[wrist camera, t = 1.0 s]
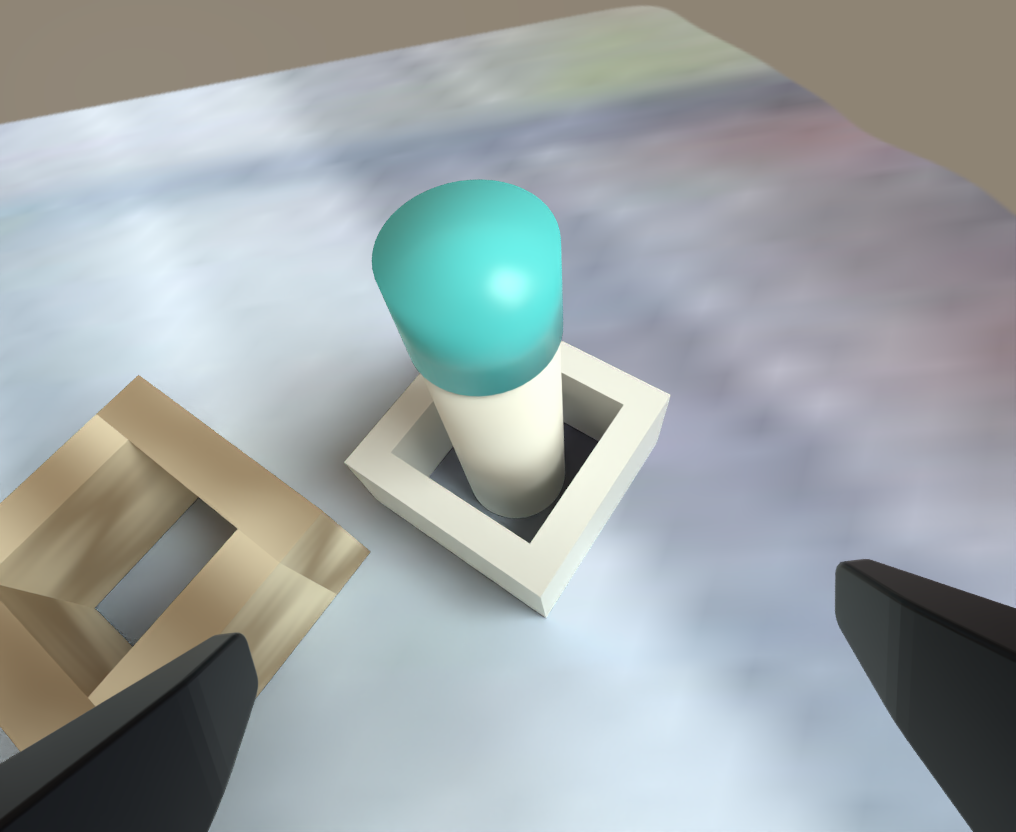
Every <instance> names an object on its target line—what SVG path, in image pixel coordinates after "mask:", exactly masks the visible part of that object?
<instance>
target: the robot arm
mask: <svg viewBox="0 0 1016 832" xmlns="http://www.w3.org/2000/svg"><path fill="white" fill-rule="evenodd" d="M835 615H836V619H837V623H838V625H839V627H840V629H841V631H842V633H843V635H844V636H845V638H846V640H847V642H848V643H849V645H850V647H851V648H852V650H853V652H854V654H855V655H856V657H857V659H858V661H859V662H860V664H861V666H862V667H863V669H864V671H865V673H866V674H867V676H868V678H869V679H870V681H871V683H872V685H873V686H874V688H875V690H876V692H877V693H878V695H879V697H880V698H881V700H882V702H883V704H884V705H885V707H886V709H887V710H888V712H889V714H890V715H891V717H892V718H893V720H894V722H895V723H896V725H897V726H898V728H899V729H900V731H901V732H902V733H903V735H904V736H905V738H906V739H907V741H908V742H909V743H910V745H911V746H912V748H913V749H914V750H915V752H916V753H917V755H918V756H919V757H920V759H921V760H922V762H923V763H924V764H925V766H926V767H927V769H928V770H929V771H930V773H931V774H932V775H933V777H934V778H935V780H936V781H937V782H938V784H939V785H940V787H941V788H942V789H943V791H944V792H945V794H946V795H947V796H948V798H949V799H950V800H951V802H952V803H953V805H954V806H955V807H956V809H957V810H958V812H959V813H960V814H961V816H962V817H963V819H964V820H965V821H966V823H967V824H968V825H969V827H970V828H971V830H972V831H973V832H1016V608H1013V607H1010V606H1007V605H1004V604H1001V603H998V602H995V601H992V600H989V599H986V598H983V597H980V596H977V595H974V594H971V593H968V592H965V591H962V590H959V589H956V588H953V587H950V586H947V585H944V584H941V583H938V582H935V581H933V580H930V579H927V578H924V577H921V576H918V575H915V574H912V573H909V572H906V571H903V570H900V569H897V568H894V567H891V566H888V565H885V564H882V563H879V562H876V561H873V560H869V559H860V560H852V561H844V562H841V563H840V564H839V565H838V566H837V568H836V573H835ZM257 691H258V676H257V672H256V669H255V665H254V662H253V658H252V655H251V652H250V648H249V645H248V642H247V639H246V637H245V636H244V635H243V634H241V633H239V632H234V633H226V634H217V635H214V636H212V637H210V638H208V639H207V640H205V641H203V642H202V643H200V644H198V645H197V646H195V647H193V648H192V649H190V650H189V651H187V652H185V653H184V654H182V655H180V656H179V657H177V658H175V659H174V660H172V661H170V662H169V663H167V664H165V665H164V666H162V667H160V668H159V669H157V670H155V671H154V672H152V673H150V674H149V675H147V676H145V677H144V678H142V679H140V680H139V681H137V682H135V683H134V684H132V685H130V686H129V687H127V688H125V689H124V690H122V691H120V692H119V693H117V694H115V695H114V696H112V697H110V698H109V699H107V700H105V701H104V702H102V703H101V704H99V705H97V706H96V707H94V708H92V709H91V710H89V711H87V712H86V713H84V714H82V715H81V716H79V717H77V718H76V719H74V720H72V721H71V722H69V723H67V724H66V725H64V726H62V727H61V728H59V729H57V730H56V731H54V732H52V733H51V734H49V735H47V736H46V737H44V738H42V739H41V740H39V741H37V742H36V743H34V744H32V745H31V746H29V747H27V748H26V749H24V750H22V751H21V752H19V753H17V754H16V755H14V756H12V757H11V758H9V759H8V760H6V761H4V762H3V763H1V764H0V832H208V830H209V828H210V826H211V823H212V821H213V819H214V816H215V814H216V812H217V809H218V807H219V804H220V802H221V799H222V797H223V794H224V792H225V789H226V786H227V784H228V781H229V778H230V775H231V772H232V769H233V766H234V763H235V760H236V757H237V754H238V751H239V748H240V745H241V741H242V738H243V735H244V732H245V729H246V726H247V723H248V720H249V717H250V714H251V711H252V708H253V705H254V702H255V699H256V695H257Z"/></svg>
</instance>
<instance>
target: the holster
mask: <svg viewBox="0 0 1016 832" xmlns="http://www.w3.org/2000/svg"><path fill="white" fill-rule="evenodd" d="M560 352H561V378H562V403H563V422H565V423H566V424H568V425H570V426H572V427H574V428H575V429H577V430H579V431H581V432H583V433H585V434H586V435H588V436H590V437H592V438H594V439H595V440H597V441H599V442H598V444H597V445H596V447H595V448H594V450H593V451H592V453H591V454H590V456H589V457H588V459H587V460H586V462H585V463H584V465H583V466H582V467H581V469H580V470H579V472H578V473H577V475H576V476H575V478H574V479H573V481H572V482H571V484H570V485H569V487H568V488H567V490H566V491H565V493H564V494H563V496H562V497H561V499H560V500H559V502H558V503H557V504H556V506H555V507H554V509H553V510H552V512H551V513H550V515H549V516H548V518H547V519H546V521H545V522H544V524H543V525H542V527H541V528H540V530H539V531H538V533H537V534H536V536H535V537H534V538H533V540H532V541H531V543H530V544H529V543H528V542H526V541H525V540H523V539H522V538H520V537H519V536H517V535H516V534H514V533H513V532H511V531H510V530H508V529H507V528H505V527H503V526H502V525H500V524H499V523H497V522H496V521H494V520H493V519H491V518H490V517H488V516H487V515H485V514H484V513H482V512H481V511H479V510H477V509H476V508H474V507H473V506H471V505H470V504H468V503H467V502H465V501H464V500H462V499H461V498H459V497H458V496H456V495H455V494H453V493H451V492H450V491H448V490H447V489H445V488H444V487H442V486H441V485H439V484H438V483H436V482H435V481H433V480H432V479H430V478H429V477H430V475H431V474H432V473H433V471H434V470H435V469H436V468H437V466H438V465H439V464H440V462H441V461H442V460H443V459H444V457H445V456H446V455H447V454H448V452H449V451H450V450H451V448H452V447H453V445H452V442H451V440H450V438H449V436H448V433H447V431H446V429H445V426H444V424H443V422H442V420H441V417H440V415H439V413H438V410H437V408H436V406H435V404H434V401H433V399H432V397H431V394H430V392H429V390H428V387H427V385H426V383H425V381H424V378H423V376H422V374H421V373H420V374H419V375H418V376H417V377H416V378H415V380H414V381H413V382H412V383H411V384H410V386H409V387H408V388H407V389H406V390H405V391H404V393H403V394H402V395H401V396H400V397H399V398H398V400H397V401H396V402H395V403H394V404H393V405H392V407H391V408H390V409H389V410H388V411H387V412H386V414H385V415H384V416H383V417H382V418H381V419H380V421H379V422H378V423H377V424H376V425H375V426H374V428H373V429H372V430H371V431H370V432H369V434H368V435H367V436H366V437H365V438H364V439H363V441H362V442H361V443H360V444H359V445H358V446H357V448H356V449H355V450H354V451H353V452H352V453H351V455H350V456H349V457H348V458H347V459H346V460H345V462H344V463H345V464H346V465H347V466H348V467H349V468H350V470H351V471H352V472H353V473H354V474H355V475H356V476H357V478H358V479H359V480H360V481H361V482H362V483H363V484H364V486H365V487H366V488H367V489H368V490H369V491H370V492H371V494H372V495H373V496H374V497H375V498H376V499H377V500H378V501H379V502H381V503H382V504H383V505H385V506H386V507H388V508H389V509H391V510H392V511H393V512H395V513H396V514H398V515H399V516H401V517H402V518H403V519H405V520H406V521H408V522H409V523H411V524H412V525H413V526H415V527H416V528H418V529H419V530H421V531H422V532H424V533H425V534H426V535H428V536H429V537H431V538H432V539H434V540H435V541H436V542H438V543H439V544H441V545H442V546H444V547H445V548H446V549H448V550H449V551H451V552H452V553H454V554H455V555H456V556H458V557H459V558H461V559H462V560H464V561H465V562H466V563H468V564H469V565H471V566H472V567H474V568H475V569H476V570H478V571H479V572H481V573H482V574H484V575H485V576H486V577H488V578H489V579H491V580H492V581H494V582H495V583H496V584H498V585H499V586H501V587H502V588H504V589H505V590H506V591H508V592H509V593H511V594H512V595H514V596H515V597H517V598H518V599H519V600H521V601H522V602H524V603H525V604H527V605H528V606H529V607H531V608H532V609H534V610H535V611H537V612H538V613H539V614H541V615H542V616H544V617H545V618H547V616H548V615H549V613H550V611H551V610H552V608H553V607H554V605H555V603H556V602H557V600H558V599H559V597H560V596H561V594H562V592H563V591H564V589H565V588H566V586H567V584H568V583H569V581H570V580H571V578H572V577H573V575H574V573H575V572H576V570H577V569H578V567H579V565H580V564H581V562H582V561H583V559H584V558H585V556H586V554H587V553H588V551H589V550H590V548H591V546H592V545H593V543H594V542H595V540H596V539H597V537H598V535H599V534H600V532H601V531H602V529H603V527H604V526H605V524H606V523H607V521H608V520H609V518H610V516H611V515H612V513H613V512H614V510H615V508H616V507H617V505H618V504H619V502H620V501H621V499H622V497H623V496H624V494H625V493H626V491H627V489H628V488H629V486H630V485H631V483H632V482H633V480H634V478H635V477H636V475H637V474H638V472H639V470H640V469H641V467H642V466H643V464H644V463H645V461H646V459H647V458H648V456H649V455H650V453H651V451H652V450H653V448H654V447H655V445H656V444H657V441H658V437H659V434H660V430H661V427H662V423H663V420H664V416H665V413H666V410H667V406H668V403H669V399H670V396H671V395H669V394H667V393H665V392H663V391H661V390H659V389H657V388H655V387H653V386H651V385H649V384H647V383H645V382H643V381H641V380H639V379H637V378H635V377H633V376H631V375H629V374H627V373H625V372H623V371H621V370H619V369H617V368H615V367H613V366H611V365H609V364H607V363H605V362H603V361H601V360H599V359H597V358H595V357H593V356H591V355H589V354H587V353H585V352H583V351H581V350H579V349H577V348H575V347H573V346H571V345H569V344H567V343H565V342H563V341H561V343H560Z"/></svg>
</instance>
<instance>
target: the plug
mask: <svg viewBox="0 0 1016 832" xmlns="http://www.w3.org/2000/svg"><path fill="white" fill-rule="evenodd" d="M372 269H373V273H374V277H375V280H376V282H377V284H378V287H379V289H380V291H381V293H382V295H383V298H384V300H385V302H386V304H387V307H388V309H389V311H390V313H391V316H392V318H393V320H394V322H395V325H396V327H397V329H398V331H399V333H400V336H401V338H402V340H403V342H404V345H405V347H406V349H407V351H408V354H409V356H410V358H411V360H412V362H413V364H414V366H415V367H416V369H417V370H418V371H419V372H420V373H421V374H422V376H423V378H424V381H425V383H426V385H427V387H428V390H429V392H430V394H431V397H432V399H433V401H434V404H435V406H436V408H437V410H438V413H439V415H440V417H441V420H442V422H443V424H444V426H445V429H446V431H447V433H448V436H449V438H450V440H451V442H452V445H453V447H454V449H455V452H456V454H457V456H458V459H459V461H460V463H461V465H462V468H463V470H464V472H465V475H466V477H467V479H468V481H469V484H470V486H471V488H472V491H473V493H474V495H475V496H476V498H477V500H478V501H479V502H480V503H481V504H482V505H483V506H484V507H485V508H486V509H488V510H489V511H491V512H492V513H495V514H497V515H499V516H503V517H507V518H524V517H529V516H532V515H535V514H537V513H539V512H541V511H543V510H544V509H546V508H547V507H548V506H549V505H551V504H552V503H553V501H554V500H555V499H556V498H557V496H558V495H559V493H560V491H561V489H562V487H563V484H564V479H565V455H564V429H563V403H562V378H561V352H560V343H561V339H562V334H563V298H562V263H561V238H560V230H559V227H558V224H557V221H556V219H555V217H554V215H553V214H552V212H551V211H550V209H549V208H548V207H547V206H546V205H545V204H544V203H543V202H542V201H541V200H540V199H539V198H537V197H536V196H535V195H533V194H532V193H530V192H528V191H526V190H525V189H522V188H520V187H517V186H515V185H512V184H508V183H505V182H499V181H493V180H465V181H457V182H452V183H448V184H444V185H441V186H438V187H435V188H432V189H430V190H427V191H425V192H423V193H421V194H419V195H417V196H415V197H414V198H412V199H411V200H409V201H408V202H406V203H405V204H404V205H402V206H401V207H400V208H399V209H398V210H397V211H396V212H395V213H393V214H392V215H391V216H390V218H389V219H388V220H387V221H386V223H385V224H384V225H383V227H382V229H381V230H380V232H379V234H378V236H377V239H376V241H375V244H374V248H373V253H372Z"/></svg>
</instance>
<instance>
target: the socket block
mask: <svg viewBox="0 0 1016 832" xmlns="http://www.w3.org/2000/svg"><path fill="white" fill-rule="evenodd" d="M198 497H199V498H200V499H202V500H203V501H204V502H205V503H207V504H208V505H209V506H210V507H212V508H213V509H214V510H215V511H216V512H218V513H219V514H220V515H221V516H223V517H224V518H225V519H226V520H228V521H229V522H230V523H231V524H232V525H234V526H235V527H236V528H237V530H236V531H235V532H234V534H233V535H232V536H231V537H230V538H229V539H228V540H227V541H226V543H225V544H224V545H223V546H222V547H221V548H220V549H219V550H218V552H217V553H216V554H215V555H214V556H213V557H212V558H211V559H210V561H209V562H208V563H207V564H206V565H205V566H204V567H203V568H202V570H201V571H200V572H199V573H198V574H197V575H196V576H195V577H194V579H193V580H192V581H191V582H190V583H189V584H188V585H187V586H186V588H185V589H184V590H183V591H182V592H181V593H180V594H179V595H178V597H177V598H176V599H175V600H174V601H173V602H172V603H171V604H170V606H169V607H168V608H167V609H166V610H165V611H164V612H163V613H162V615H161V616H160V617H159V618H158V619H157V620H156V621H155V622H154V624H153V625H152V626H151V627H150V628H149V629H148V630H147V631H146V633H145V634H144V635H143V636H142V637H141V638H140V639H139V640H138V642H137V643H136V644H135V645H134V646H133V647H132V646H131V645H130V644H129V643H128V641H127V640H126V639H125V638H124V637H123V636H122V635H121V634H120V633H119V632H118V631H117V630H116V629H115V628H114V627H113V626H112V625H111V624H110V623H109V622H108V621H107V620H106V619H105V618H104V617H103V616H102V615H101V614H100V613H99V612H98V611H97V610H96V609H95V607H96V606H97V605H98V604H99V603H100V602H101V601H102V600H103V599H104V598H105V597H106V595H107V594H108V593H109V592H110V591H111V590H112V589H113V588H114V587H115V586H116V585H117V584H118V583H119V582H120V581H121V579H122V578H123V577H124V576H125V575H126V574H127V573H128V572H129V571H130V570H131V569H132V568H133V567H134V566H135V565H136V563H137V562H138V561H139V560H140V559H141V558H142V557H143V556H144V555H145V554H146V553H147V552H148V551H149V550H150V549H151V547H152V546H153V545H154V544H155V543H156V542H157V541H158V540H159V539H160V538H161V537H162V536H163V535H164V534H165V533H166V531H167V530H168V529H169V528H170V527H171V526H172V525H173V524H174V523H175V522H176V521H177V520H178V519H179V518H180V517H181V515H182V514H183V513H184V512H185V511H186V510H187V509H188V508H189V507H190V506H191V505H192V504H193V503H194V502H195V501H196V499H197V498H198ZM369 553H370V551H369V550H368V549H367V548H366V547H364V546H363V545H362V544H361V543H360V542H358V541H357V540H356V539H355V538H354V537H353V536H351V535H350V534H349V533H348V532H347V531H346V530H344V529H343V528H342V527H341V526H340V525H338V524H337V523H336V522H335V521H334V520H333V519H331V518H330V517H329V516H328V515H327V514H325V513H324V512H323V511H322V510H320V509H319V508H318V507H316V506H315V505H314V504H312V503H311V502H310V501H308V500H307V499H306V498H304V497H303V496H302V495H300V494H299V493H297V492H296V491H295V490H293V489H292V488H291V487H289V486H288V485H287V484H285V483H284V482H283V481H281V480H280V479H279V478H277V477H276V476H275V475H273V474H272V473H270V472H269V471H268V470H266V469H265V468H264V467H262V466H261V465H260V464H258V463H257V462H256V461H254V460H253V459H252V458H250V457H249V456H247V455H246V454H245V453H243V452H242V451H241V450H239V449H238V448H237V447H235V446H234V445H233V444H231V443H230V442H229V441H227V440H226V439H225V438H223V437H222V436H220V435H219V434H218V433H216V432H215V431H214V430H212V429H211V428H210V427H208V426H207V425H206V424H204V423H203V422H202V421H200V420H199V419H197V418H196V417H195V416H193V415H192V414H191V413H189V412H188V411H187V410H185V409H184V408H183V407H181V406H180V405H179V404H177V403H176V402H174V401H173V400H172V399H170V398H169V397H168V396H166V395H165V394H164V393H162V392H161V391H160V390H158V389H157V388H156V387H154V386H153V385H152V384H150V383H149V382H147V381H146V380H145V379H143V378H142V377H141V376H139V375H138V376H137V377H136V378H135V379H134V380H133V381H132V382H130V383H129V384H128V385H127V386H126V387H125V388H124V389H123V390H122V391H121V392H120V393H119V394H118V395H116V396H115V397H114V398H113V399H112V400H111V401H110V402H109V403H108V404H107V405H106V406H105V407H104V408H103V409H101V410H100V411H99V412H98V413H97V414H96V415H95V416H94V417H93V418H92V419H91V420H90V421H89V422H87V423H86V424H85V425H84V426H83V427H82V428H81V429H80V430H79V431H78V432H77V433H76V434H75V435H73V436H72V437H71V438H70V439H69V440H68V441H67V442H66V443H65V444H64V445H63V446H62V447H61V448H59V449H58V450H57V451H56V452H55V453H54V454H53V455H52V456H51V457H50V458H49V459H48V460H47V461H45V462H44V463H43V464H42V465H41V466H40V467H39V468H38V469H37V470H36V471H35V472H34V473H33V474H31V475H30V476H29V477H28V478H27V479H26V480H25V481H24V482H23V483H22V484H21V485H20V486H19V487H18V488H16V489H15V490H14V491H13V492H12V493H11V494H10V495H9V496H8V497H7V498H6V499H5V500H4V501H2V502H1V503H0V727H1V728H2V729H3V731H4V732H5V733H6V734H7V736H8V737H9V738H10V739H11V741H12V742H13V743H14V744H15V746H16V747H17V748H18V749H19V751H20V752H21V751H22V750H24V749H26V748H27V747H29V746H31V745H32V744H34V743H36V742H37V741H39V740H41V739H42V738H44V737H46V736H47V735H49V734H51V733H52V732H54V731H56V730H57V729H59V728H61V727H62V726H64V725H66V724H67V723H69V722H71V721H72V720H74V719H76V718H77V717H79V716H81V715H82V714H84V713H86V712H87V711H89V710H91V709H92V708H94V707H96V706H97V705H99V704H101V703H102V702H104V701H105V700H107V699H109V698H110V697H112V696H114V695H115V694H117V693H119V692H120V691H122V690H124V689H125V688H127V687H129V686H130V685H132V684H134V683H135V682H137V681H139V680H140V679H142V678H144V677H145V676H147V675H149V674H150V673H152V672H154V671H155V670H157V669H159V668H160V667H162V666H164V665H165V664H167V663H169V662H170V661H172V660H174V659H175V658H177V657H179V656H180V655H182V654H184V653H185V652H187V651H189V650H190V649H192V648H193V647H195V646H197V645H198V644H200V643H202V642H203V641H205V640H207V639H208V638H210V637H212V636H214V635H217V634H226V633H234V632H239V633H241V634H243V635H244V636H245V637H246V639H247V642H248V645H249V648H250V652H251V655H252V658H253V662H254V665H255V669H256V672H257V676H258V691H257V695H256V698H257V696H258V695H259V694H260V692H261V691H262V690H263V689H264V687H265V686H266V685H267V684H268V682H269V681H270V680H271V678H272V677H273V676H274V675H275V673H276V672H277V671H278V669H279V668H280V667H281V666H282V664H283V663H284V662H285V661H286V659H287V658H288V657H289V655H290V654H291V653H292V652H293V650H294V649H295V648H296V646H297V645H298V644H299V643H300V641H301V640H302V639H303V638H304V636H305V635H306V634H307V632H308V631H309V630H310V629H311V627H312V626H313V625H314V623H315V622H316V621H317V620H318V618H319V617H320V616H321V615H322V613H323V612H324V611H325V609H326V608H327V607H328V606H329V604H330V603H331V602H332V600H333V599H334V598H335V597H336V595H337V594H338V593H339V592H340V590H341V589H342V588H343V586H344V585H345V584H346V583H347V581H348V580H349V579H350V577H351V576H352V575H353V574H354V572H355V571H356V570H357V569H358V567H359V566H360V565H361V563H362V562H363V561H364V560H365V558H366V557H367V556H368V554H369Z"/></svg>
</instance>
